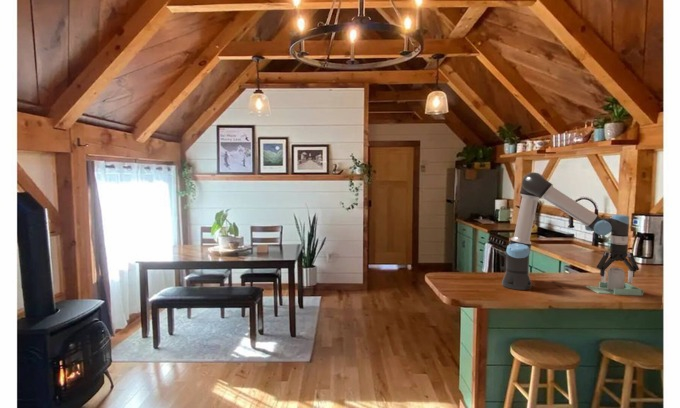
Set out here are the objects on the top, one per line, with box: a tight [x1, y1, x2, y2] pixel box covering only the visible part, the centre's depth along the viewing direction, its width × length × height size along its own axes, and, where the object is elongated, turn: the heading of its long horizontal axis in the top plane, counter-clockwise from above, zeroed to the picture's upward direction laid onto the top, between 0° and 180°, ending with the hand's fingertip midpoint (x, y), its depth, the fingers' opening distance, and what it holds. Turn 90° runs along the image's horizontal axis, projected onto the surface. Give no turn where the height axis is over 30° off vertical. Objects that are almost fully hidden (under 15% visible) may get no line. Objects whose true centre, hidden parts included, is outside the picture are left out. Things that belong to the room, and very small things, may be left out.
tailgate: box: [585, 285, 611, 295], centre depth 208 cm, size 1×11×6 cm
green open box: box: [598, 281, 644, 296], centre depth 207 cm, size 14×14×4 cm
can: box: [606, 267, 626, 291], centre depth 206 cm, size 8×8×12 cm
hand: (616, 282), depth 206 cm, fingers open, 13 cm apart
